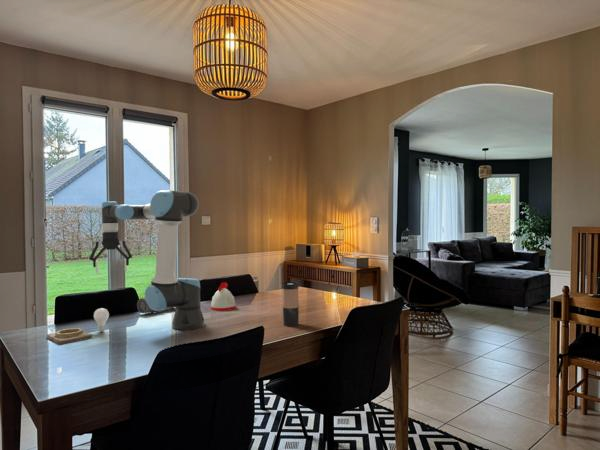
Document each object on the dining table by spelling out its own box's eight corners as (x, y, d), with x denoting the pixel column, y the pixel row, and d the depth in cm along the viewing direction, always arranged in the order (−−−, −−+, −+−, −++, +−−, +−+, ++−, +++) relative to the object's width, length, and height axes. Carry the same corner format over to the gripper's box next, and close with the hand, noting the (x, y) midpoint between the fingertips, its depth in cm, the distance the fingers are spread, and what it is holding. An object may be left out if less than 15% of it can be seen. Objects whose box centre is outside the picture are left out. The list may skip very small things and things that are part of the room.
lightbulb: (97, 330, 199) (96, 307, 199) (111, 329, 199) (110, 306, 199) (91, 334, 192) (91, 309, 192) (106, 333, 193) (105, 309, 193)
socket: (92, 337, 186) (92, 331, 186) (59, 344, 176) (59, 337, 176) (78, 331, 197) (78, 325, 197) (46, 337, 187) (46, 331, 187)
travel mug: (301, 323, 206) (300, 282, 206) (295, 327, 199) (295, 284, 199) (286, 322, 209) (285, 281, 208) (280, 326, 202) (280, 284, 201)
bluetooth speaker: (147, 316, 227) (147, 297, 227) (136, 314, 232) (136, 296, 231) (180, 308, 246) (180, 291, 246) (169, 307, 251) (169, 290, 251)
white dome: (240, 307, 247) (239, 281, 247) (225, 311, 235) (225, 285, 235) (221, 305, 254) (220, 280, 254) (205, 309, 242) (205, 283, 241)
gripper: (136, 230, 226) (137, 270, 226) (84, 232, 218) (85, 273, 218) (136, 230, 219) (137, 271, 219) (82, 232, 210) (83, 275, 211)
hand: (111, 272), depth 218 cm, fingers open, 13 cm apart
